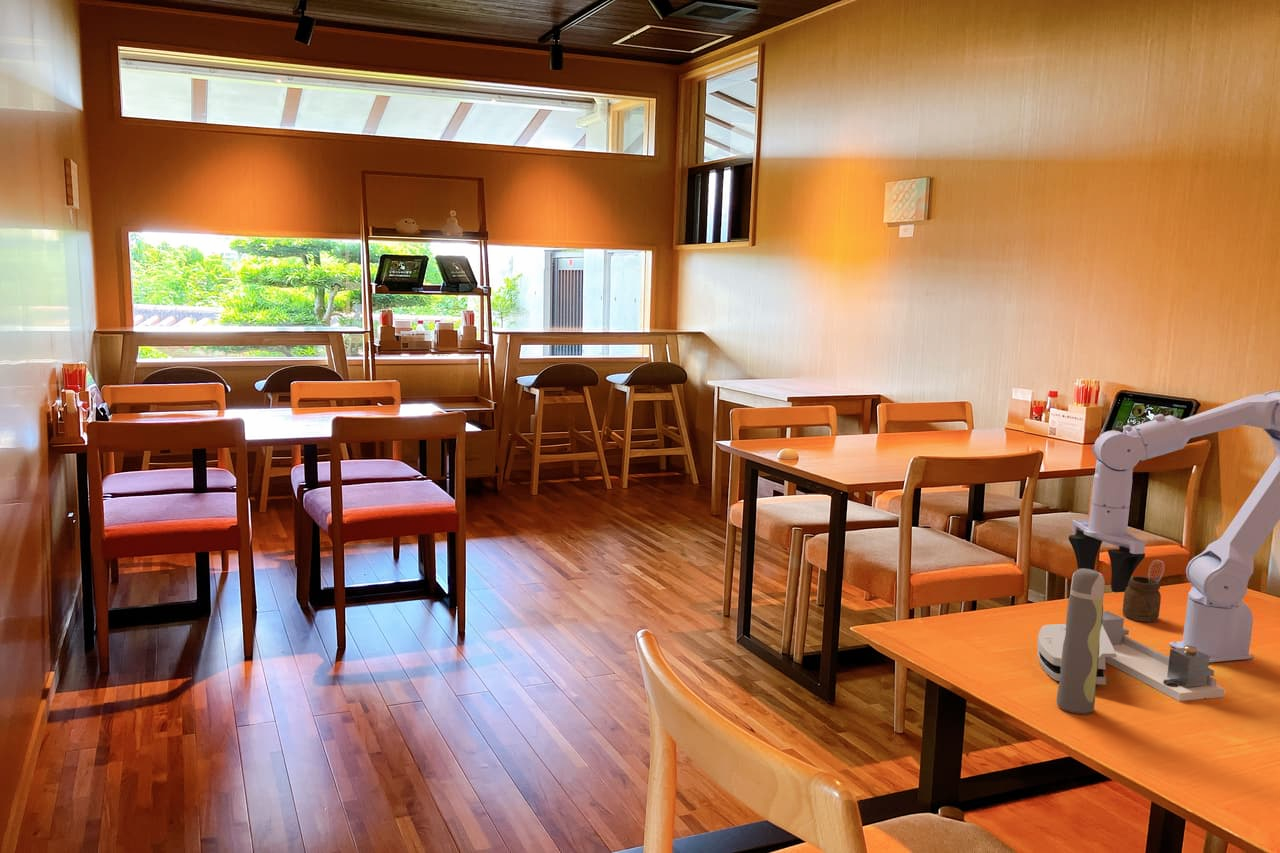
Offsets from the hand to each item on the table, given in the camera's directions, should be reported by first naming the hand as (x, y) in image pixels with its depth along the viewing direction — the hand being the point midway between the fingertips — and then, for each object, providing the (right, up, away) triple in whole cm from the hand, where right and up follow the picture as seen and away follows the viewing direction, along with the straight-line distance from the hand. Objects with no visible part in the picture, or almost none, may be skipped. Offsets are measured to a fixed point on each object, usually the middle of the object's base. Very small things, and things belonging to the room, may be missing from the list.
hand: (1101, 584), depth 164 cm
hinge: (-6, -10, -12) cm, 16 cm away
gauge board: (+2, -12, -10) cm, 16 cm away
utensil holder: (+14, -9, +15) cm, 22 cm away
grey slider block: (+4, -11, -18) cm, 22 cm away
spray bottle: (-16, -14, -25) cm, 33 cm away
